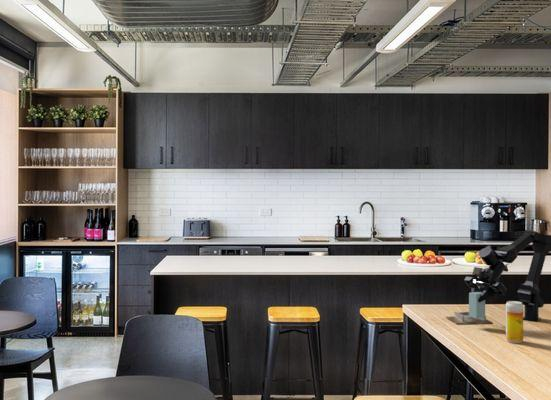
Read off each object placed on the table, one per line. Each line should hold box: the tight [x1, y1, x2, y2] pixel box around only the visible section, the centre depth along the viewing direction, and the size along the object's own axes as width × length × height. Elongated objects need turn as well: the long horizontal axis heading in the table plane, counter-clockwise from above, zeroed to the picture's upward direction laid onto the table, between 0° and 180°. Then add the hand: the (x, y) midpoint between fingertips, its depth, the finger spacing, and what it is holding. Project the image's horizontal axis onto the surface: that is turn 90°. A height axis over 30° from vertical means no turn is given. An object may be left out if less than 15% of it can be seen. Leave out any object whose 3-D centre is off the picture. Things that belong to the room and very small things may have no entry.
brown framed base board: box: [445, 311, 494, 326], centre depth 234 cm, size 16×12×3 cm
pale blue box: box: [468, 292, 486, 318], centre depth 222 cm, size 6×4×10 cm, turn 116°
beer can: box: [505, 300, 524, 344], centre depth 201 cm, size 6×6×15 cm
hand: (474, 300), depth 221 cm, fingers closed on pale blue box, 4 cm apart
